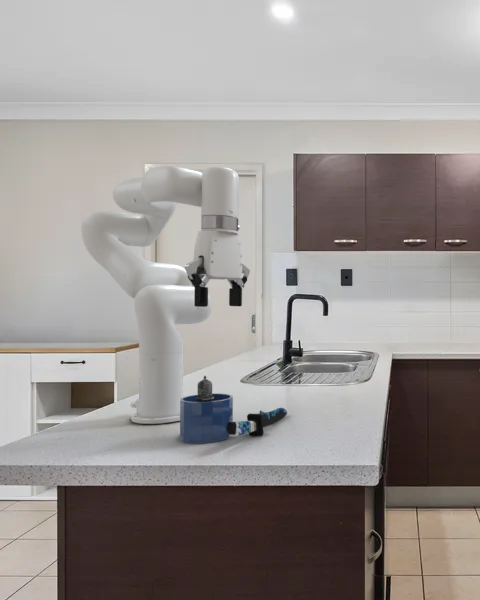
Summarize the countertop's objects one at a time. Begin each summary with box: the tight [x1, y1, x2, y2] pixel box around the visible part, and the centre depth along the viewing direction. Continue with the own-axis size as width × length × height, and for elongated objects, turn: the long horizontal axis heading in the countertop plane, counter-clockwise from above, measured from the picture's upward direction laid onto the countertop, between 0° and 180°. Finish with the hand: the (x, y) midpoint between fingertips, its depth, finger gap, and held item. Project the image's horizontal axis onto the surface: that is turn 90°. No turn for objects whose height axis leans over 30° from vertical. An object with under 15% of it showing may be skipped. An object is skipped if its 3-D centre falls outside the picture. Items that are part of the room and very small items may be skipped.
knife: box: [226, 407, 288, 438], centre depth 110 cm, size 30×3×4 cm, turn 169°
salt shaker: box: [196, 375, 214, 402], centre depth 105 cm, size 6×6×12 cm
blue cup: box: [179, 392, 234, 444], centre depth 106 cm, size 10×10×8 cm
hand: (218, 306), depth 111 cm, fingers open, 9 cm apart
